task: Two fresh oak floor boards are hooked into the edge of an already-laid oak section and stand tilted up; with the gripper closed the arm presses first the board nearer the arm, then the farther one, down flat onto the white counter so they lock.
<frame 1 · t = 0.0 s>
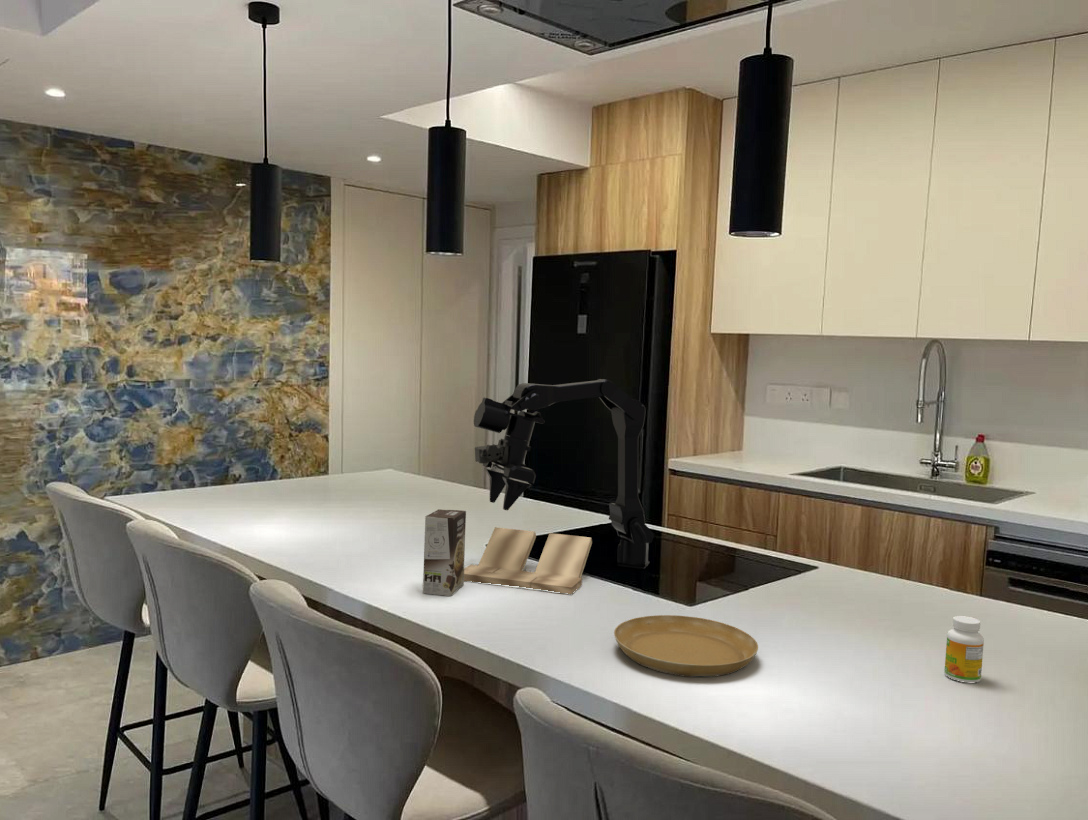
hand: (498, 506, 192), 15 cm above the table, tool pointing down, fingers open, 9 cm apart
near plank: (563, 557, 194), point 4 cm above the table, hinge at 35.0°
laid section: (518, 582, 187), on the table
plant saucer: (684, 657, 147), on the table
supplement bottle: (962, 679, 141), on the table
far plank: (507, 550, 199), point 4 cm above the table, hinge at 35.0°
coffee box: (443, 590, 180), on the table
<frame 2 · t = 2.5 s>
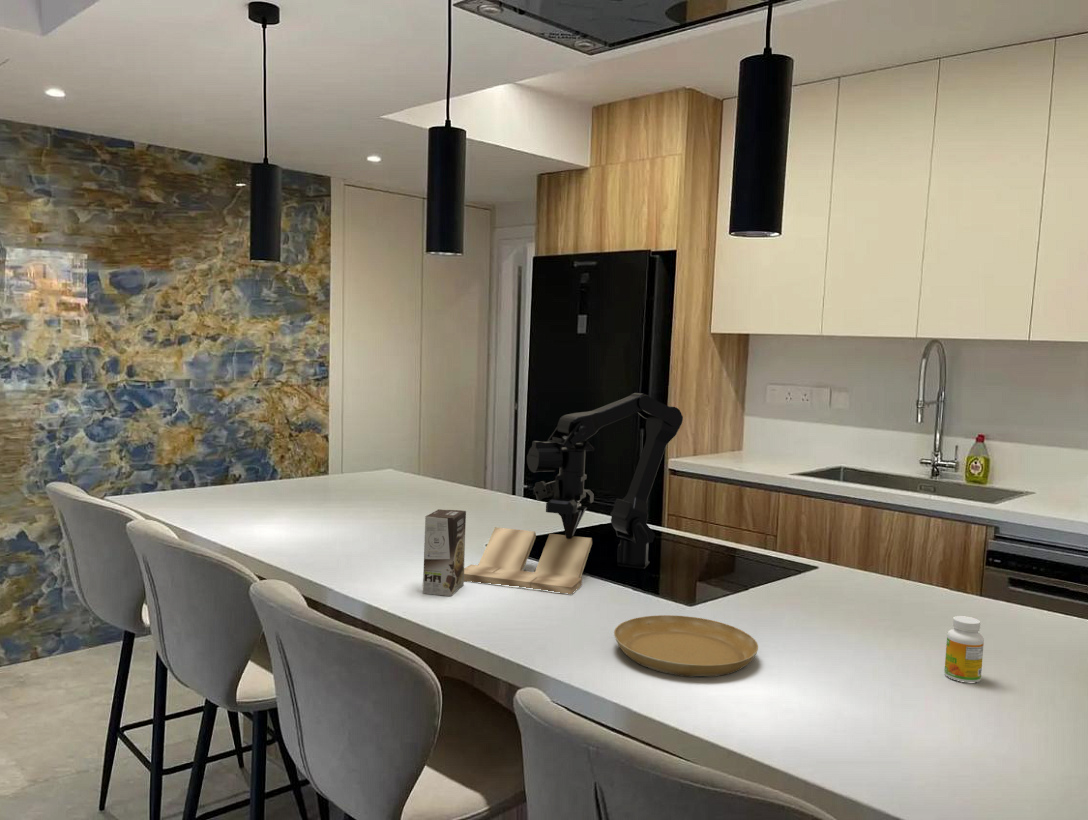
hand: (569, 538, 198), 8 cm above the table, tool pointing down, fingers closed
near plank: (564, 557, 194), point 4 cm above the table, hinge at 34.2°, touching gripper
everything else where it was.
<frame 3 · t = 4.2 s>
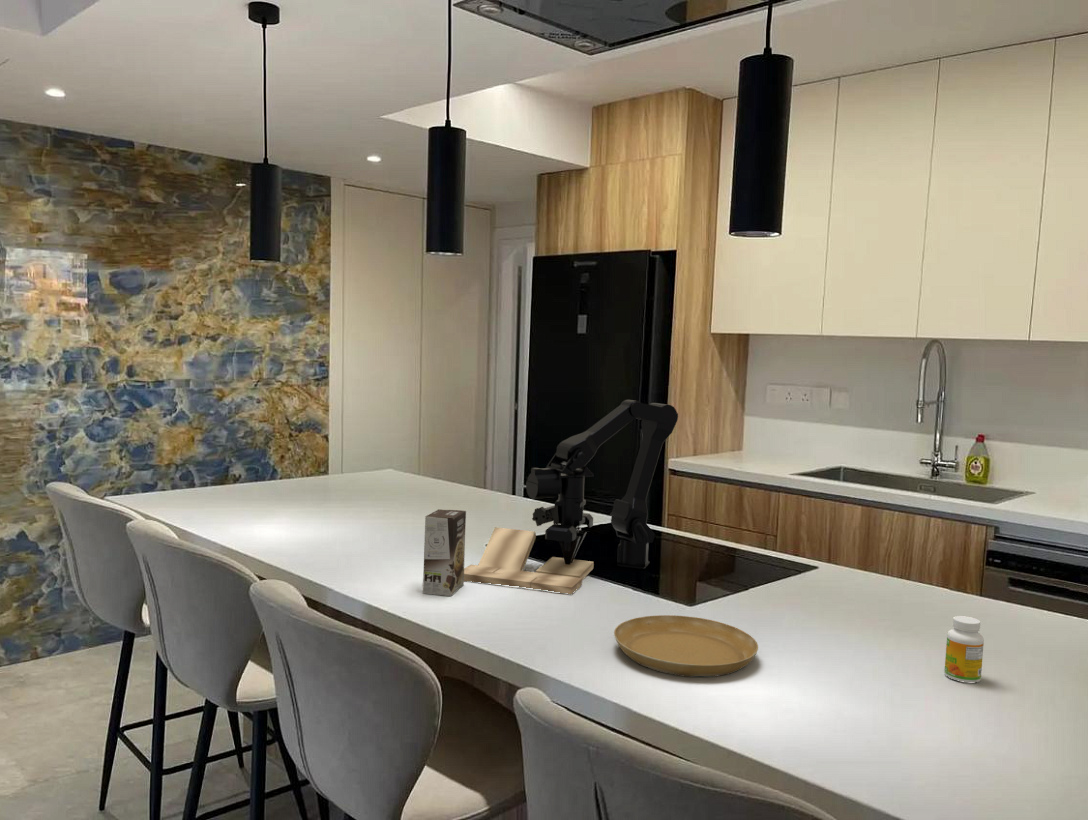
hand: (568, 563, 198), 2 cm above the table, tool pointing down, fingers closed on near plank
near plank: (565, 569, 196), point 1 cm above the table, hinge at 2.1°, touching gripper
everything else where it was.
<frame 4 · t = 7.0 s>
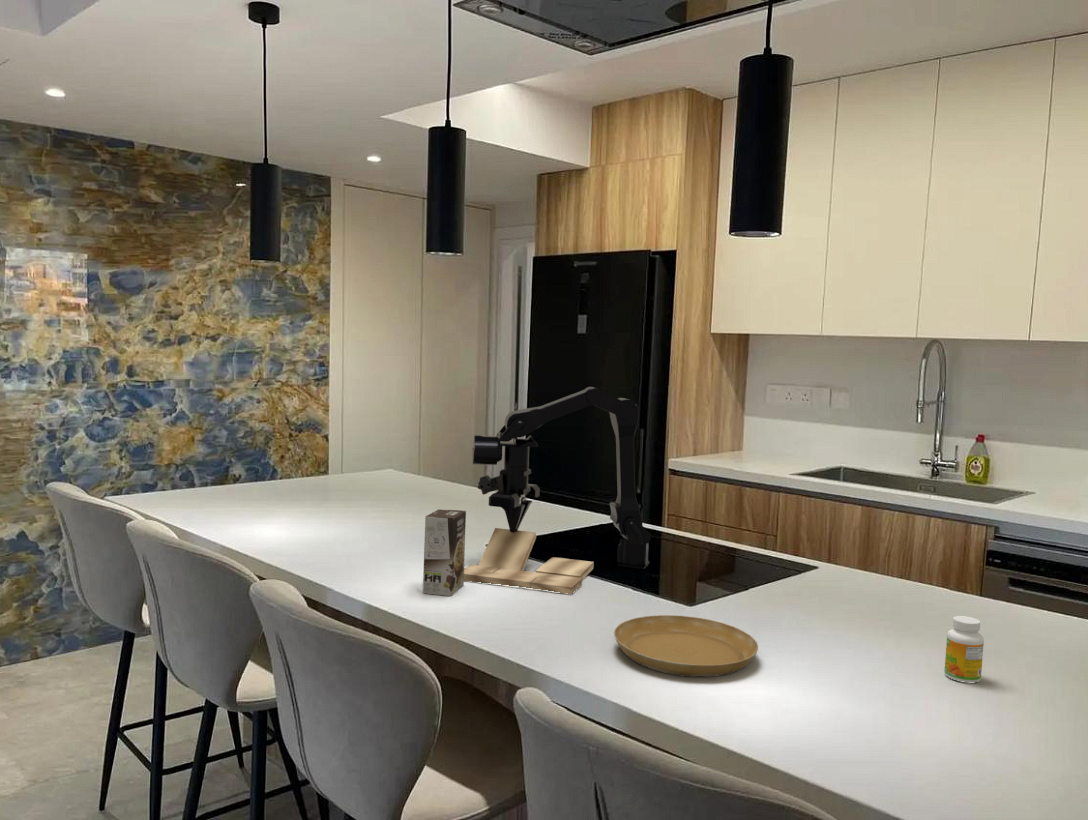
hand: (513, 531, 202), 8 cm above the table, tool pointing down, fingers closed
near plank: (565, 569, 196), point 1 cm above the table, hinge at 1.9°
far plank: (507, 551, 199), point 4 cm above the table, hinge at 33.8°, touching gripper
everything else where it was.
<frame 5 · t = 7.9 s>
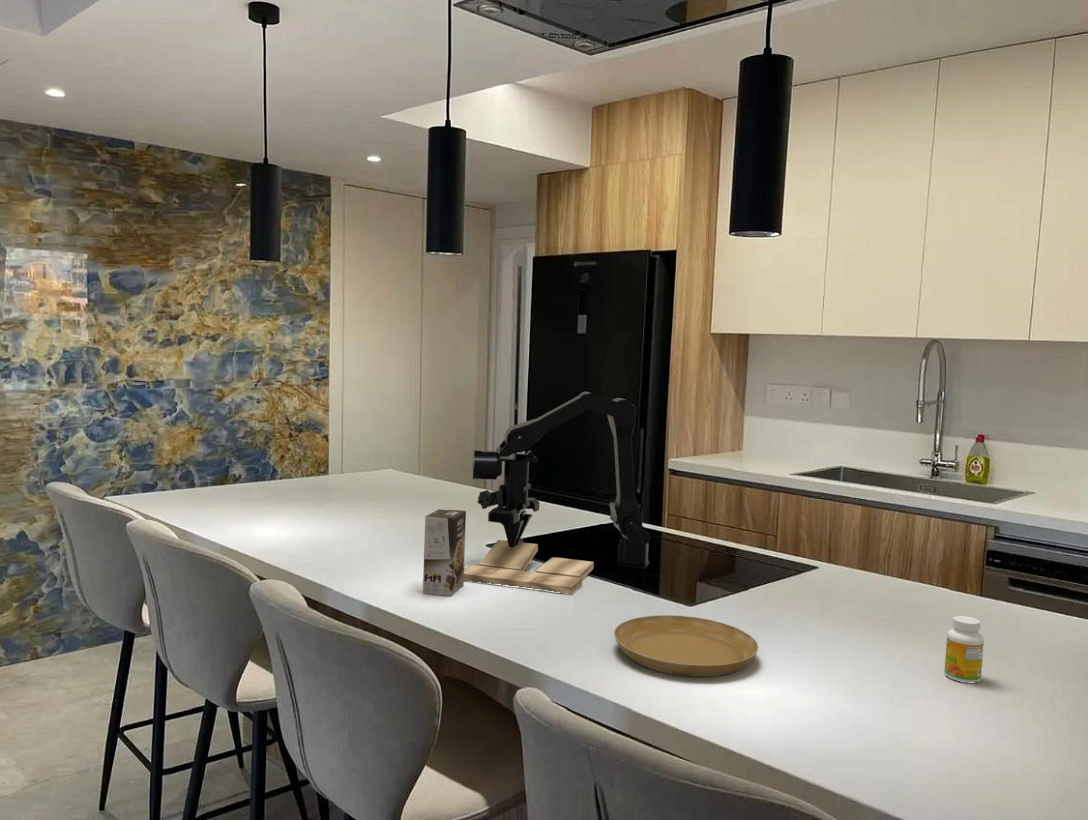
hand: (513, 546, 202), 4 cm above the table, tool pointing down, fingers closed
far plank: (509, 557, 200), point 2 cm above the table, hinge at 15.9°, touching gripper
everything else where it was.
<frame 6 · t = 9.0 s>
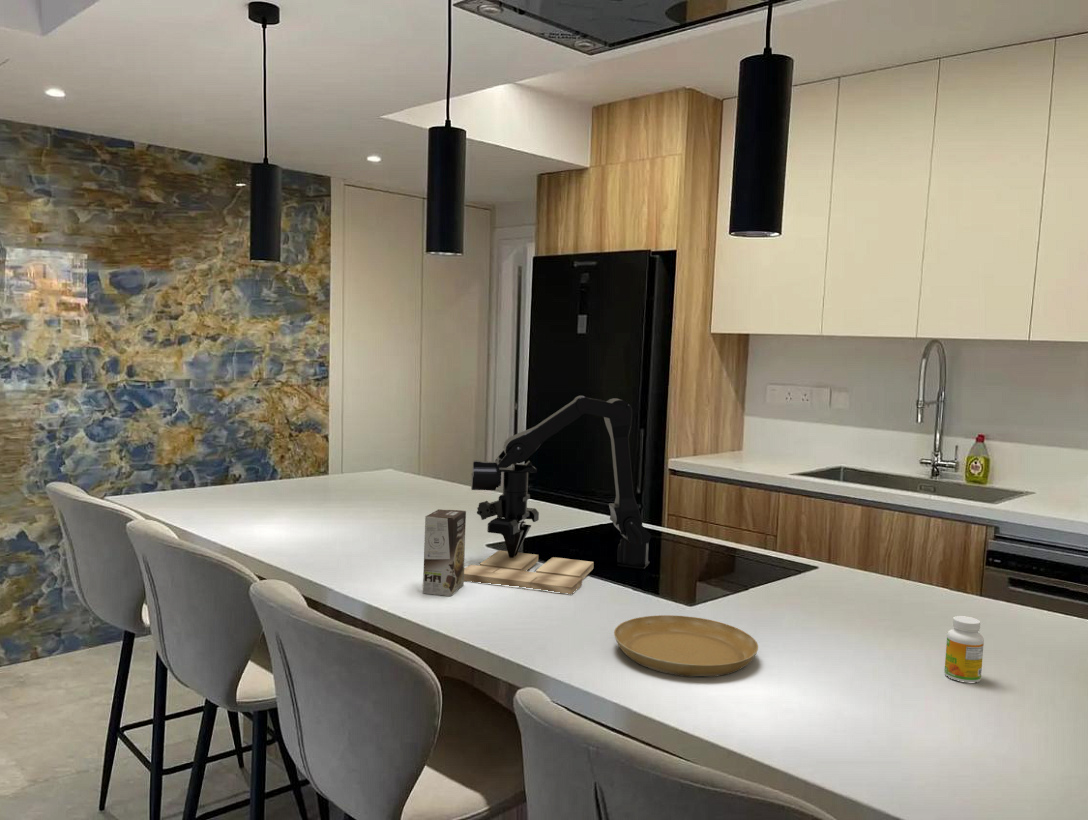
hand: (512, 556, 202), 2 cm above the table, tool pointing down, fingers closed on far plank
far plank: (509, 562, 200), point 1 cm above the table, hinge at 2.6°, touching gripper
everything else where it was.
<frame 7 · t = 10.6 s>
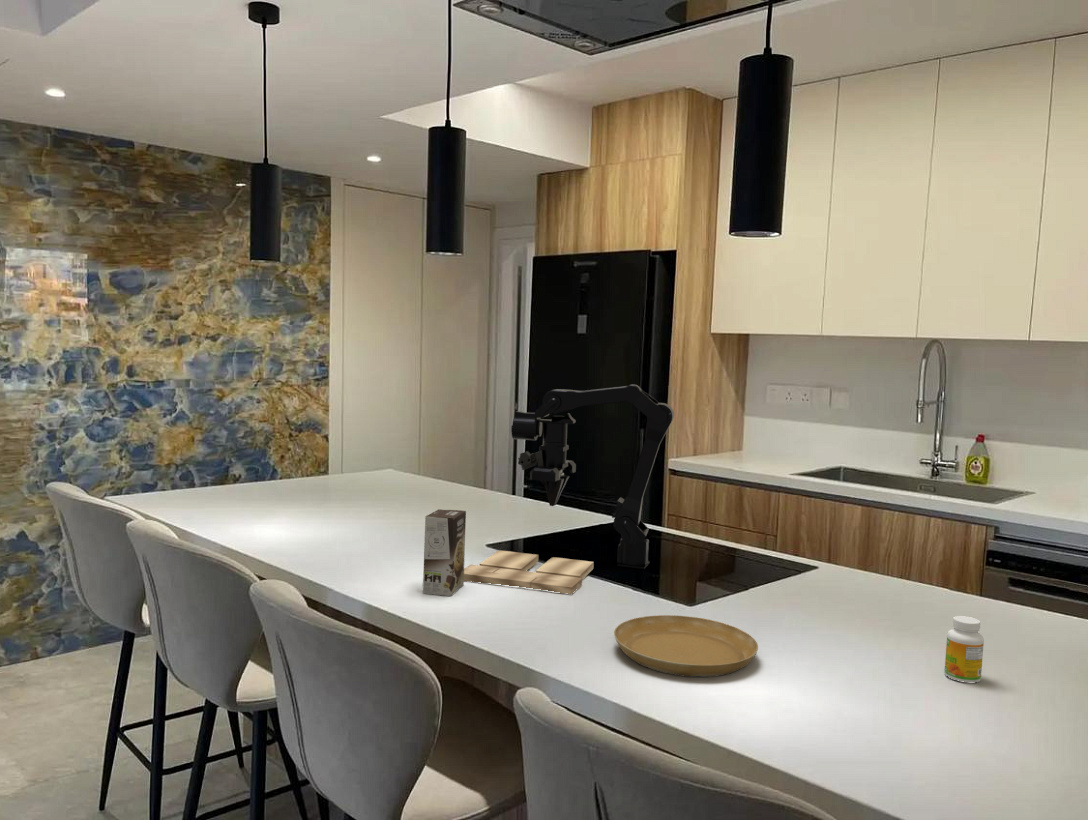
hand: (552, 505, 210), 13 cm above the table, tool pointing down, fingers closed
far plank: (509, 562, 200), point 1 cm above the table, hinge at 2.6°
everything else where it was.
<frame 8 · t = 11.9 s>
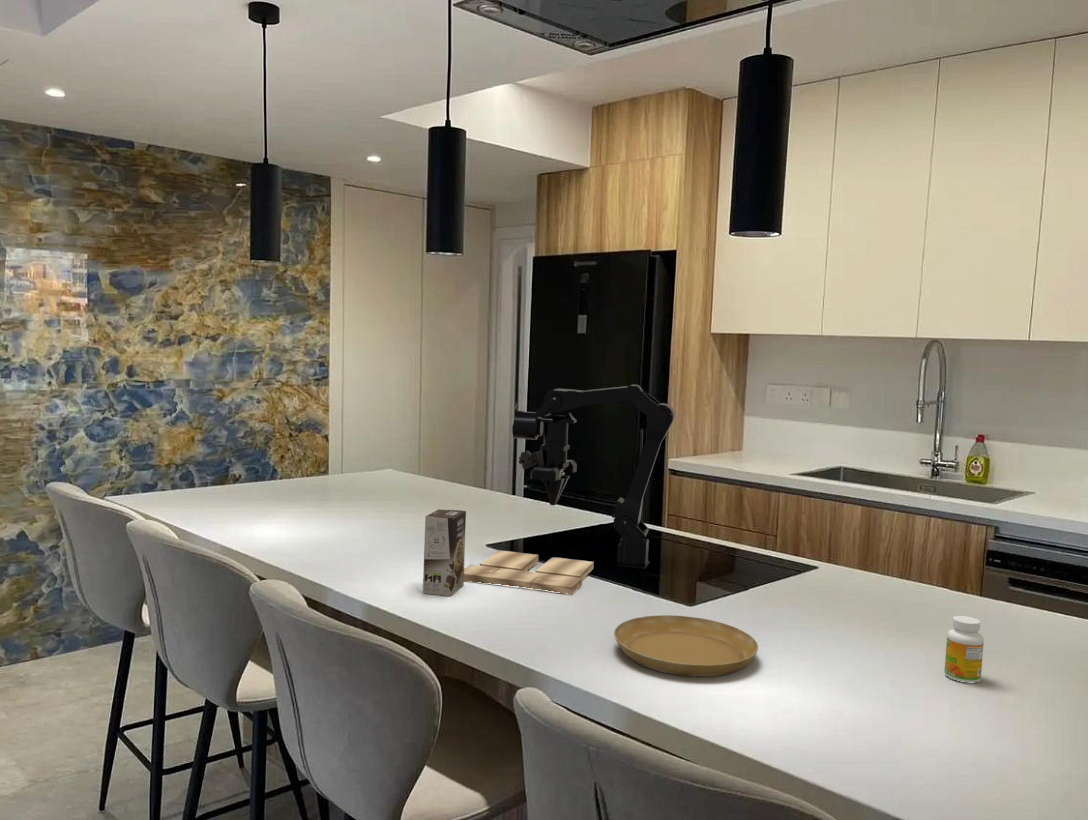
hand: (553, 504, 210), 13 cm above the table, tool pointing down, fingers closed
nothing on the table moved.
at the end: near plank at +2° (first picture: +35°); far plank at +3° (first picture: +35°) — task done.
